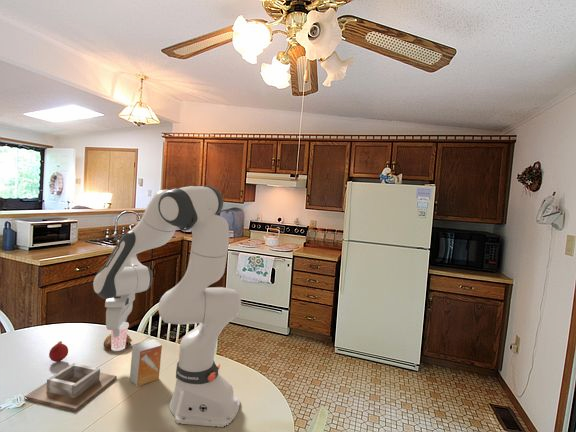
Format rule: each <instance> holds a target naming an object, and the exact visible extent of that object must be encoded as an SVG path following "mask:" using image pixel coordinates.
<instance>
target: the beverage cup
mask: <svg viewBox="0 0 576 432" xmlns="http://www.w3.org/2000/svg"><path fill="white" fill-rule="evenodd" d="M129 327H130V324H129V322H128V321H126V322H123V323H122V324H121V326H120V328H119V331H120V335H119V336H118V337H113V330H110V331H111V333H110V334H111V349H112V350H113V351H112V352H121V351H120V350H122V351H124V350H123V349H125V345H126V338H127V334H128V330H129V329H128V328H129ZM125 350H126V349H125Z"/></svg>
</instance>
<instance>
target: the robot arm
mask: <svg viewBox="0 0 576 432" xmlns="http://www.w3.org/2000/svg"><path fill="white" fill-rule="evenodd" d="M223 206H224V198H223V194H222V193H221V192H220V191H219V190H218V189H217V188H215V187H213V186H211V185H210V186H209V185H201V186H198V185H197V186H196V185H195V186H193V185H190V186H183V187H179V188H172V189H161V190H158V191H157V192H156V193H155V194H154V195H153V197H152V198H151V200H150V201H149V202H148V204H147V206H146V209H145V211H144V212H143V215H142V217H141V219H140V220H139V221H138V222H137V224H136V225H135V226H134V227H132V228H131V229H130V230H128V231H126V233H124V234H123V235H122V237H121V238H120V239H119V241H118V242H117V243H116V246H115V247H114V249H113V250H112V252H111V253H110V255H109V256H108V258H107V260H106V262H105V263H104V265H103V266H102V267H101V268H100V269H99V270H98V271H97V273H96V274H95V276H94V277H93V281H92V288H93V292H94V294H96V295H97V296H98V297H100V298H101V299H104V300H105V302H104V308H106V311H105V327H106V329H107V331H111V330H113V337H118V336H119V335H120V331H119V328H120V326H121V324H122V323H123V322H127V320H128V317H129V315H130V314H131V313H132V311H133V304H134V303H133V302H134V301H135V300H136V294H137V293H138V294H139V293H142V292H146V291H147V290H149V289H150V287H151V286H152V284H153V281H154V279H153V278H154V277H153V275H154V274H153V271H152V270H151V269H150V268H149V267H148V266H146V265H143V264H142V263H141V262H140V261H139V259H138V255H139V254H140V253H142V252H145V251H149V250H152V249H156V248H159V247H162V246H164V245H166V244H167V243H169V242H170V241H171V239H172V238H173V237H174V235H175V233H176V230H177V228H178V229H180V231H184V232H185V231H189V230H190V231H191V233H192V238H191V246H190V254H189V259H188V263H187V268H186V271H185V274H184V275H183V277H182V278H181V279H180V281H178V283H176V284H175V286H173V287H172V288H170V289H168V290H167V291H166V292H164V293H163V295H162V296H161V297H160V300H159V302H158V307H157V308H158V314H159V317H160V318H161V320H162V321H163V322H164V324H171V325H193V324H194V325H195V324H198V325H197V326H196V327H195V328H193V329H191V330H190V331H188V332H187V333H186V334H185V335H183V337H182V339H181V340H180V343H179V355H178V361H177V363H176V369H175V370H176V371H175V379H176V381H175V386H174V391H173V394H172V396H171V397H172V398H171V400H170V402H169V411H170V412H171V413H172V415H173V416H174V420H175V422H176V424H179V423H181V425H183V424H184V425H191V426H192V425H194V426H205V427H215V426H217V427H216V428H224V426H225V427H227V426H229V425H230V424H231V423H232V422H233V421H232V420H233V419H236V417H237V415H238V413H239V411H238V410H240V407H239V406H240V403H241V402H240V398H239V397H238V396H236V395H234V388H233V386H232V384H231V383H229V381H228V380H226V379H225V377H224V376H222V375H221V374H220V373H219V370H220V369H221V363H219V364H218V365H216V362H215V353H216V347H217V341H218V338H219V336H220V334H221V333H222V331H223V330H224V328H225V327H226V326H227V325H228V324H229V323H230V322H231V321H232V320H234V319H235V318H236V317H237V316H238V314H239V313H240V311H241V308H242V300H241V296H240V294H239V293H238V291H237V290H236V289H233V288H228V287H223V286H216V287H209V286H211V285H213V284H214V283H216V282H218V281H220V279H221V278H222V277H223V276H224V274H225V270H226V264H227V259H228V251H229V242H230V229H229V228H230V227H229V223H228V221H227V220H226V219H225V218H224V217H223V216H220V215H219V213H220V212H222V210H223ZM231 421H232V422H231ZM229 423H230V424H229ZM226 425H227V426H226Z"/></svg>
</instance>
